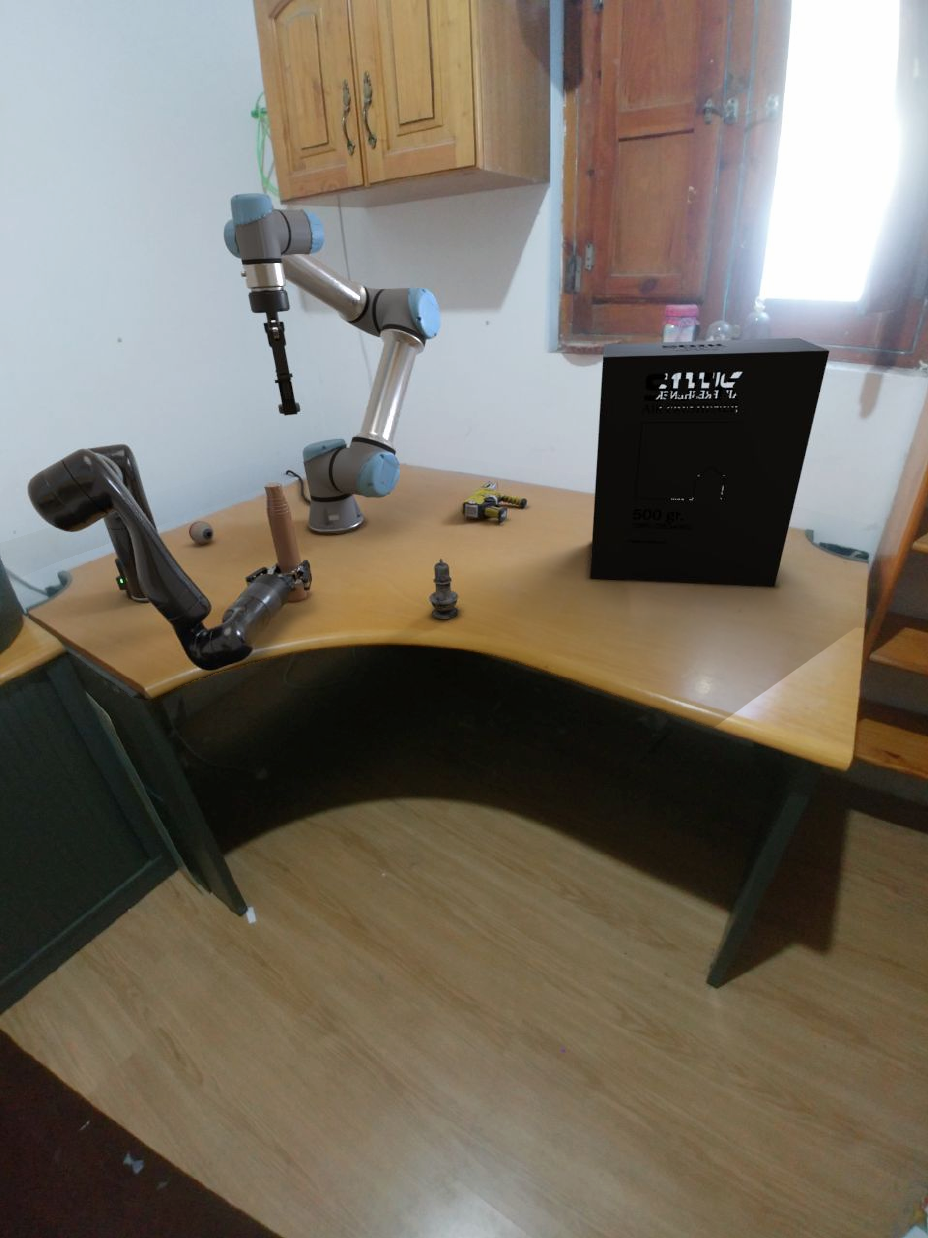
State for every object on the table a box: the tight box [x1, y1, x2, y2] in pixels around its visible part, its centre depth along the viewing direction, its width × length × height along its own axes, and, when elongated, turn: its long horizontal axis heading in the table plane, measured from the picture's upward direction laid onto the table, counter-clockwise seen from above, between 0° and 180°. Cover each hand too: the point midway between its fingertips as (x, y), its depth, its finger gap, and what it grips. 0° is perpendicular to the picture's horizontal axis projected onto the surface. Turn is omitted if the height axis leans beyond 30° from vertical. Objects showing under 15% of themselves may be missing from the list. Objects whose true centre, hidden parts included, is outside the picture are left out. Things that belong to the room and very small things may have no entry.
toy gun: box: [461, 480, 528, 523], centre depth 173 cm, size 5×24×15 cm
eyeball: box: [188, 520, 214, 545], centre depth 161 cm, size 6×6×6 cm
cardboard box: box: [589, 337, 830, 587], centre depth 126 cm, size 38×20×45 cm, turn 78°
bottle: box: [263, 481, 308, 602], centre depth 126 cm, size 5×5×25 cm
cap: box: [277, 401, 301, 415], centre depth 130 cm, size 4×4×2 cm
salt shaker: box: [428, 558, 459, 620], centre depth 120 cm, size 6×6×12 cm
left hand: (295, 563), depth 131 cm, fingers closed on bottle, 4 cm apart
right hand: (290, 412), depth 130 cm, fingers closed on cap, 4 cm apart
